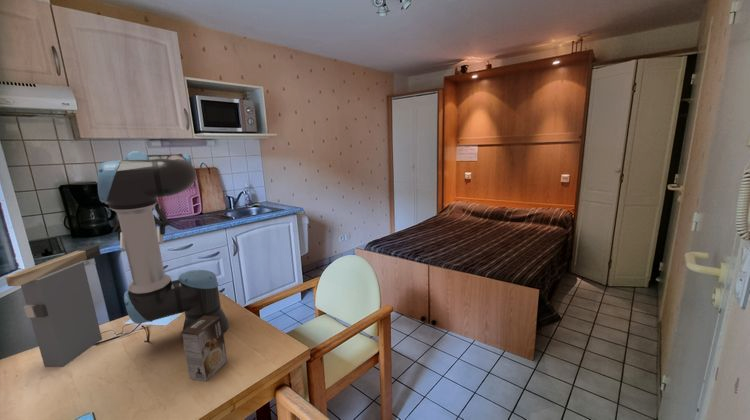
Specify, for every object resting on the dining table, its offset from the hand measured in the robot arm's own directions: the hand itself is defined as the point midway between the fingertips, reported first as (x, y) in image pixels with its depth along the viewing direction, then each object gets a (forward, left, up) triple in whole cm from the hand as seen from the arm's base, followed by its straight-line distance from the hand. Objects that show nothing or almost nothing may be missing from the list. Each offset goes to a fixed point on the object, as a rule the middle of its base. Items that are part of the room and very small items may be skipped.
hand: (142, 245), depth 122 cm
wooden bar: (+9, +23, +1) cm, 25 cm away
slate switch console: (+9, +25, -29) cm, 40 cm away
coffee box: (-42, +34, -30) cm, 61 cm away
